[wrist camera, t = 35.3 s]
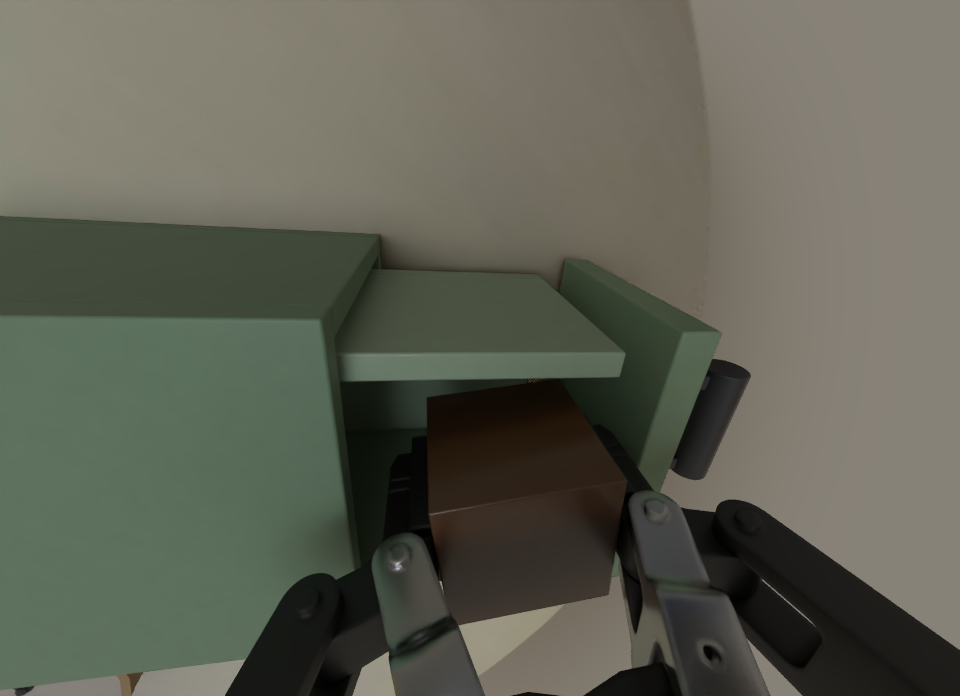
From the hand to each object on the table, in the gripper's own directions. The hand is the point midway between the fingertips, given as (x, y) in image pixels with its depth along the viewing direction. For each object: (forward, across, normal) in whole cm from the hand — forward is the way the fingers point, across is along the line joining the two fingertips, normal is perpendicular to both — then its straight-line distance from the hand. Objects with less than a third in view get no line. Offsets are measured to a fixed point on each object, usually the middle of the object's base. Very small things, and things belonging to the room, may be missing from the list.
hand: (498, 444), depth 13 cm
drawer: (+7, -1, 0) cm, 7 cm away
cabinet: (+8, +12, -2) cm, 14 cm away
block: (0, 0, 0) cm, 0 cm away
